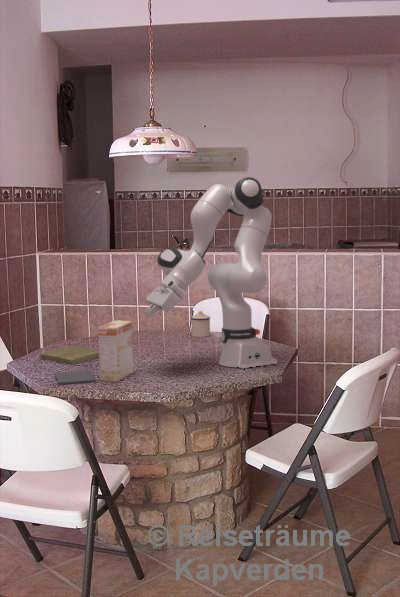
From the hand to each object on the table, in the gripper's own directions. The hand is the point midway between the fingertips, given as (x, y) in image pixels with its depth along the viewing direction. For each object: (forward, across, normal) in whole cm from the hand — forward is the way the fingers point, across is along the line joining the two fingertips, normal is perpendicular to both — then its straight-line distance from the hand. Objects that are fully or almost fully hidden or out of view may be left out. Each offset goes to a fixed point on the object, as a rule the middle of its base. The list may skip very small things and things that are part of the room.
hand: (147, 315), depth 271 cm
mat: (+34, -3, -4) cm, 35 cm away
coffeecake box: (+24, 0, +7) cm, 25 cm away
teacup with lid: (-16, -63, +46) cm, 80 cm away
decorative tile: (+30, -39, +2) cm, 49 cm away
